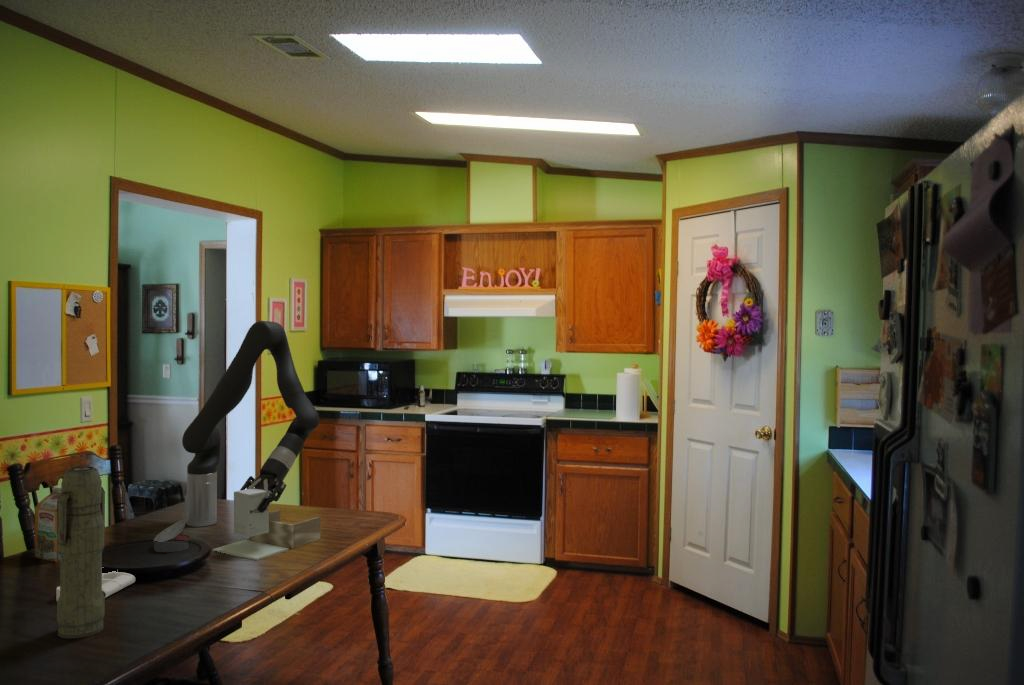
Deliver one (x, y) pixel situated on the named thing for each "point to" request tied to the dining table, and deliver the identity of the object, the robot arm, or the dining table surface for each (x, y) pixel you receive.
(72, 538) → the thermos
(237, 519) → the supplement box
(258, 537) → the box
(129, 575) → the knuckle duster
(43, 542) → the milk carton
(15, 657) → the dining table surface
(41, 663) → the dining table surface
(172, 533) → the canned food
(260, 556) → the mat
